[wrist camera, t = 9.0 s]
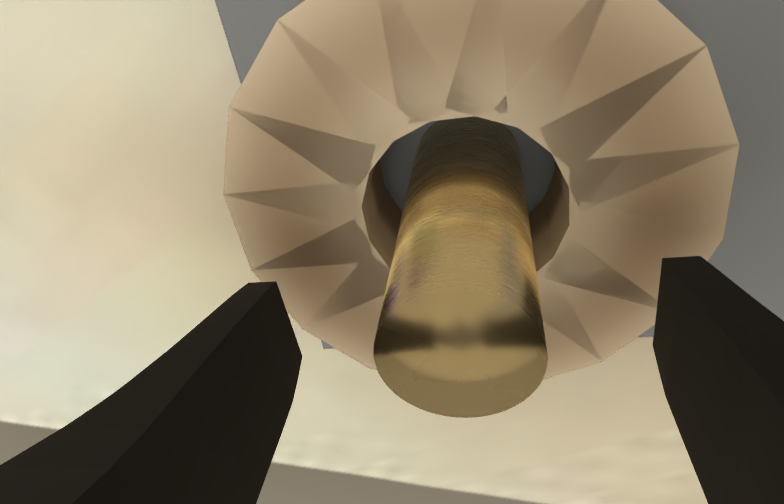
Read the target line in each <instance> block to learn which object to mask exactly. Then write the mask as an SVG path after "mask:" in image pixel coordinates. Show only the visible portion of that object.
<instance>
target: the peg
mask: <svg viewBox="0 0 784 504" xmlns="http://www.w3.org/2000/svg"><path fill="white" fill-rule="evenodd" d="M373 355H374V361H375V365H376V368H377V370H378V372H379V374H380V376H381V378H382V379H383V381H384V382H385V383H386V385H387V386H388V387H389V388H390V389H391V390H392V391H393V392H394V393H395V394H397V395H398V396H399V397H400V398H402V399H403V400H405V401H406V402H408V403H410V404H412V405H414V406H416V407H418V408H420V409H423V410H425V411H428V412H431V413H435V414H439V415H444V416H450V417H465V418H468V417H481V416H487V415H492V414H496V413H499V412H502V411H505V410H507V409H510V408H512V407H514V406H516V405H517V404H519V403H521V402H522V401H524V400H525V399H526V398H527V397H529V396H530V395H531V394H532V393H533V392H534V391H535V390H536V389H537V387H538V386H539V384H540V383H541V381H542V379H543V377H544V375H545V372H546V368H547V362H548V354H547V346H546V339H545V332H544V324H543V317H542V310H541V303H540V296H539V288H538V281H537V274H536V267H535V260H534V253H533V245H532V238H531V231H530V224H529V217H528V209H527V202H526V195H525V188H524V181H523V174H522V166H521V159H520V152H519V148H518V144H517V142H516V139H515V137H514V136H513V134H512V133H511V131H510V130H509V129H508V128H507V127H506V126H505V125H504V124H503V123H499V122H495V121H492V120H488V119H484V118H480V117H477V116H472V117H464V118H455V119H446V120H438V121H436V122H435V123H434V124H432V125H431V126H430V127H429V128H428V129H427V130H426V131H425V133H424V134H423V136H422V137H421V139H420V141H419V143H418V146H417V149H416V154H415V158H414V163H413V168H412V172H411V177H410V181H409V186H408V190H407V195H406V199H405V204H404V209H403V213H402V218H401V222H400V227H399V231H398V236H397V240H396V245H395V250H394V254H393V259H392V263H391V268H390V272H389V277H388V281H387V286H386V291H385V295H384V300H383V304H382V309H381V313H380V318H379V322H378V327H377V332H376V336H375V341H374V346H373Z"/></svg>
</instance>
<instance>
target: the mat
mask: <svg viewBox="0 0 784 504" xmlns="http://www.w3.org/2000/svg"><path fill="white" fill-rule="evenodd" d="M301 1H303V0H215V2H216V5H217V9H218V12H219V15H220V18H221V21H222V25H223V28H224V31H225V34H226V37H227V41H228V44H229V47H230V50H231V53H232V57H233V60H234V63H235V66H236V69H237V73H238V76H239V79H240V82H241V85H242V83H243V81H244V79H245V77H246V76H247V74H248V72H249V70H250V68H251V67H252V65H253V63H254V61H255V59H256V58H257V56H258V54H259V52H260V50H261V49H262V47H263V45H264V43H265V41H266V40H267V38H268V36H269V34H270V32H271V31H272V29H273V27H274V25H275V23H276V22H277V20H278V19H279V18H280V17H282V16H283V15H284V14H286V13H287V12H288V11H290V10H291V9H292V8H293V7H295V6H296V5H297V4H299V3H300V2H301ZM658 1H659V2H660V3H661V4H662V5H663V6H664V7H665V8H666V9H668V10H669V11H670V12H671V13H672V14H673V15H674V16H675V17H676V18H677V19H678V20H679V21H681V22H682V23H683V24H684V25H685V26H686V27H687V28H688V29H689V30H690V31H691V32H692V33H694V34H695V35H696V36H697V37H698V38H699V39H700V40H701V41H702V42H703V43H704V44H706V45H707V48H708V51H709V54H710V57H711V60H712V63H713V66H714V69H715V72H716V75H717V78H718V82H719V85H720V88H721V91H722V94H723V97H724V100H725V103H726V106H727V109H728V112H729V115H730V118H731V121H732V124H733V127H734V130H735V133H736V136H737V139H738V142H739V144H740V145H739V150H738V156H737V162H736V168H735V173H734V179H733V185H732V191H731V197H730V202H729V208H728V214H727V220H726V225H725V231H724V237H723V240H722V241H721V242H720V244H719V245H718V247H717V248H716V250H715V251H714V253H713V254H712V256H711V257H710V258H709V260H708V262H709V263H710V264H712V265H713V266H714V267H715V268H717V269H718V270H719V271H720V272H722V273H723V274H724V275H725V276H727V277H728V278H729V279H730V280H732V281H733V282H734V283H735V284H737V285H738V286H739V287H740V288H742V289H743V290H744V291H745V292H747V293H748V294H749V295H751V296H752V297H753V298H754V299H756V300H757V301H758V302H759V303H761V304H762V305H763V306H765V307H766V308H767V309H769V310H770V311H771V312H772V313H774V314H775V315H776V316H778V317H779V318H780V319H782V320H783V321H784V0H658ZM437 121H438V120H437ZM435 122H436V121H430V122H428V123H426V124H425V125H423V126H421V127H419V128H417V129H415V130H414V131H412V132H410V133H408V134H406V135H404V136H402V137H401V138H399V139H397V140H395V141H393V142H392V144H391V145H390V146H389V148H388V149H387V150H386V151H385V153H384V154H383V155H382V157H381V158H380V164H381V170H382V175H383V180H384V185H385V188H386V189H387V190H388V192H389V193H390V195H391V196H392V198H393V199H394V201H395V202H396V204H397V205H398V207H399V208H400V210H401V211H402V212H403V209H404V204H405V199H406V195H407V190H408V186H409V181H410V177H411V172H412V168H413V163H414V158H415V154H416V149H417V146H418V143H419V141H420V139H421V137H422V136H423V134H424V133H425V131H426V130H427V129H428V128H429V127H430V126H431V125H432V124H434V123H435ZM504 125H505V126H506V127H507V128H508V129H509V130H510V131H511V133H512V134H513V136H514V137H515V139H516V142H517V144H518V148H519V152H520V159H521V166H522V174H523V181H524V188H525V195H526V202H527V209H528V214H529V213H530V212H531V211H532V210H533V209H534V208H535V207H536V206H537V205H538V204H539V203H540V202H541V201H542V200H543V198H544V196H545V194H546V191H547V189H548V187H549V185H550V182H551V180H552V178H553V176H554V173H555V171H556V161H555V159H554V157H553V155H552V153H550V152H549V151H548V150H546V149H545V148H544V147H543V146H541V145H540V144H539V143H537V142H536V141H535V140H534V139H532V138H531V137H530V136H528V135H527V134H526V133H525V132H523V131H522V130H521V129H519V128H518V127H514V126H510V125H506V124H504ZM654 329H655V325H653V326H652V327H651V328H649V329H648V330H646V331H645V332H643V333H642V334H641V335H639V336H638V337H654ZM321 341H322V340H321ZM322 345H323V348H324V349H332V348H334V347H332V346H331V345H329V344H327V343H326V342H324V341H322Z"/></svg>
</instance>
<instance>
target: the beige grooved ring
mask: <svg viewBox="0 0 784 504" xmlns="http://www.w3.org/2000/svg"><path fill="white" fill-rule="evenodd" d="M472 116H477V117H480V118H484V119H488V120H492V121H495V122H499V123H503V124H506V125H510V126H514V127H518V128H519V129H521V130H522V131H523V132H525V133H526V134H527V135H528V136H530V137H531V138H532V139H534V140H535V141H536V142H537V143H539V144H540V145H541V146H543V147H544V148H545V149H546V150H548V151H549V152H550V153H552V155H553V157H554V159H555V161H556V171H555V173H554V176H553V178H552V180H551V182H550V185H549V187H548V189H547V191H546V194H545V196H544V198H543V200H542V201H541V202H540V203H539V204H538V205H537V206H536V207H535V208H534V209H533V210H532V211H531V212H530V213H529V214H528V217H529V224H530V231H531V238H532V245H533V253H534V260H535V267H536V274H537V281H538V288H539V296H540V303H541V310H542V317H543V324H544V332H545V339H546V346H547V354H548V362H547V368H546V372H545V375H544V377H543V379H542V380H544V379H547V378H550V377H553V376H556V375H560V374H563V373H566V372H569V371H573V370H576V369H579V368H582V367H585V366H589V365H592V364H595V363H598V362H601V361H603V360H605V359H606V358H608V357H609V356H611V355H612V354H613V353H615V352H616V351H618V350H619V349H621V348H622V347H623V346H625V345H626V344H628V343H629V342H631V341H632V340H633V339H635V338H636V337H638V336H639V335H641V334H642V333H643V332H645V331H646V330H648V329H649V328H651V327H652V326H653V325H655V320H656V311H657V301H658V292H659V283H660V274H661V264H662V258H672V257H689V256H701V257H702V258H704V259H705V260H706V261H708V260H709V258H710V257H711V256H712V254H713V253H714V251H715V250H716V248H717V247H718V245H719V244H720V242H721V241H722V240H723V237H724V231H725V225H726V220H727V214H728V208H729V202H730V197H731V191H732V185H733V179H734V173H735V168H736V162H737V156H738V150H739V145H740V144H739V142H738V139H737V136H736V133H735V130H734V127H733V124H732V121H731V118H730V115H729V112H728V109H727V106H726V103H725V100H724V97H723V94H722V91H721V88H720V85H719V82H718V78H717V75H716V72H715V69H714V66H713V63H712V60H711V57H710V54H709V51H708V48H707V45H706V44H704V43H703V42H702V41H701V40H700V39H699V38H698V37H697V36H696V35H695V34H694V33H692V32H691V31H690V30H689V29H688V28H687V27H686V26H685V25H684V24H683V23H682V22H681V21H679V20H678V19H677V18H676V17H675V16H674V15H673V14H672V13H671V12H670V11H669V10H668V9H666V8H665V7H664V6H663V5H662V4H661V3H660V2H659V1H658V0H303V1H301V2H300V3H299V4H297V5H296V6H295V7H293V8H292V9H291V10H290V11H288V12H287V13H286V14H284V15H283V16H282V17H280V18H279V19H278V20H277V22H276V23H275V25H274V27H273V29H272V31H271V32H270V34H269V36H268V38H267V40H266V41H265V43H264V45H263V47H262V49H261V50H260V52H259V54H258V56H257V58H256V59H255V61H254V63H253V65H252V67H251V68H250V70H249V72H248V74H247V76H246V77H245V79H244V81H243V83H242V85H241V86H240V88H239V90H238V92H237V94H236V95H235V97H234V99H233V101H232V103H231V104H230V106H229V115H228V132H227V148H226V164H225V180H224V197H225V199H226V202H227V205H228V208H229V210H230V213H231V216H232V218H233V221H234V224H235V227H236V229H237V232H238V235H239V237H240V240H241V243H242V246H243V248H244V251H245V254H246V257H247V259H248V262H249V265H250V267H251V270H252V271H253V272H254V274H255V275H256V276H257V277H258V278H259V279H260V280H261V282H273V281H276V282H277V285H278V287H279V290H280V293H281V296H282V299H283V302H284V305H285V308H286V310H287V311H288V313H289V314H290V315H291V316H292V317H293V318H294V320H295V321H296V322H297V323H298V324H299V325H300V326H301V328H302V329H304V330H306V331H307V332H309V333H311V334H312V335H314V336H316V337H317V338H319V339H321V340H322V341H324V342H326V343H327V344H329V345H331V346H332V347H334V348H336V349H337V350H339V351H341V352H342V353H344V354H346V355H348V356H349V357H351V358H353V359H354V360H356V361H358V362H359V363H361V364H363V365H364V366H366V367H368V368H370V369H374V370H377V368H376V365H375V361H374V355H373V346H374V341H375V336H376V332H377V327H378V322H379V318H380V313H381V309H382V304H383V300H384V295H385V291H386V286H387V281H388V277H389V272H390V268H391V263H392V259H393V254H394V250H395V245H396V240H397V236H398V231H399V227H400V222H401V218H402V213H403V212H402V211H401V210H400V208H399V207H398V205H397V204H396V202H395V201H394V199H393V198H392V196H391V195H390V193H389V192H388V190H387V189H386V188H385V185H384V180H383V175H382V170H381V164H380V158H381V157H382V155H383V154H384V153H385V151H386V150H387V149H388V148H389V146H390V145H391V144H392V142H393V141H395V140H397V139H399V138H401V137H402V136H404V135H406V134H408V133H410V132H412V131H414V130H415V129H417V128H419V127H421V126H423V125H425V124H426V123H428V122H430V121H437V120H446V119H455V118H464V117H472Z"/></svg>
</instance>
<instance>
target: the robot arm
mask: <svg viewBox="0 0 784 504" xmlns="http://www.w3.org/2000/svg"><path fill="white" fill-rule="evenodd" d="M653 348H654V352H655V356H656V360H657V365H658V369H659V373H660V377H661V380H662V384H663V388H664V392H665V396H666V398H667V401H668V403H669V406H670V409H671V411H672V414H673V416H674V419H675V421H676V424H677V426H678V429H679V432H680V434H681V437H682V439H683V442H684V444H685V447H686V449H687V452H688V454H689V457H690V459H691V462H692V464H693V467H694V469H695V472H696V474H697V477H698V479H699V482H700V484H701V487H702V489H703V492H704V494H705V497H706V499H707V502H708V504H784V321H783V320H782V319H780V318H779V317H778V316H776V315H775V314H774V313H772V312H771V311H770V310H769V309H767V308H766V307H765V306H763V305H762V304H761V303H759V302H758V301H757V300H756V299H754V298H753V297H752V296H751V295H749V294H748V293H747V292H745V291H744V290H743V289H742V288H740V287H739V286H738V285H737V284H735V283H734V282H733V281H732V280H730V279H729V278H728V277H727V276H725V275H724V274H723V273H722V272H720V271H719V270H718V269H717V268H715V267H714V266H713V265H712V264H710V263H709V262H708V261H706V260H705V259H704V258H702V257H701V256H689V257H672V258H662V264H661V274H660V283H659V292H658V301H657V311H656V320H655V329H654V338H653ZM301 360H302V354H301V351H300V348H299V346H298V343H297V340H296V337H295V334H294V331H293V328H292V325H291V322H290V319H289V317H288V314H287V311H286V308H285V305H284V302H283V299H282V296H281V293H280V290H279V287H278V285H277V282H276V281H273V282H257V283H248V284H246V285H245V286H244V287H242V288H241V289H240V290H238V291H237V292H236V293H235V294H233V295H232V296H231V297H230V298H229V299H227V300H226V301H225V302H224V303H223V304H222V305H220V306H219V307H218V308H217V309H216V310H215V311H213V312H212V313H211V314H210V315H209V316H208V317H207V318H205V319H204V320H203V321H202V322H201V323H200V324H198V325H197V326H196V327H195V328H194V329H193V330H191V331H190V332H189V333H188V334H187V335H186V336H184V337H183V338H182V339H181V340H180V341H179V342H177V343H176V344H175V345H174V346H173V347H172V348H170V349H169V350H168V351H167V352H165V353H164V354H163V355H162V356H160V357H159V358H158V359H157V360H155V361H154V362H153V363H152V364H150V365H149V366H148V367H147V368H145V369H144V370H143V371H142V372H140V373H139V374H138V375H137V376H135V377H134V378H133V379H132V380H130V381H129V382H128V383H127V384H125V385H124V386H123V387H121V388H120V389H118V390H117V391H116V392H114V393H113V394H112V395H110V396H109V397H107V398H106V399H105V400H103V401H102V402H100V403H99V404H98V405H96V406H95V407H93V408H92V409H90V410H89V411H87V412H86V413H84V414H83V415H81V416H80V417H78V418H77V419H75V420H74V421H72V422H71V423H69V424H68V425H66V426H65V427H63V428H62V429H60V430H58V431H57V432H55V433H53V434H52V435H50V436H48V437H47V438H45V439H43V440H42V441H40V442H38V443H37V444H35V445H33V446H32V447H30V448H28V449H27V450H25V451H23V452H22V453H20V454H18V455H17V456H15V457H14V458H12V459H10V460H8V461H7V462H5V463H3V464H2V465H0V504H256V502H257V499H258V497H259V494H260V491H261V488H262V486H263V483H264V480H265V477H266V474H267V471H268V469H269V466H270V464H271V461H272V458H273V455H274V453H275V450H276V447H277V444H278V442H279V439H280V436H281V433H282V431H283V428H284V425H285V422H286V419H287V416H288V414H289V411H290V408H291V405H292V402H293V398H294V393H295V389H296V385H297V380H298V375H299V370H300V365H301Z"/></svg>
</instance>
